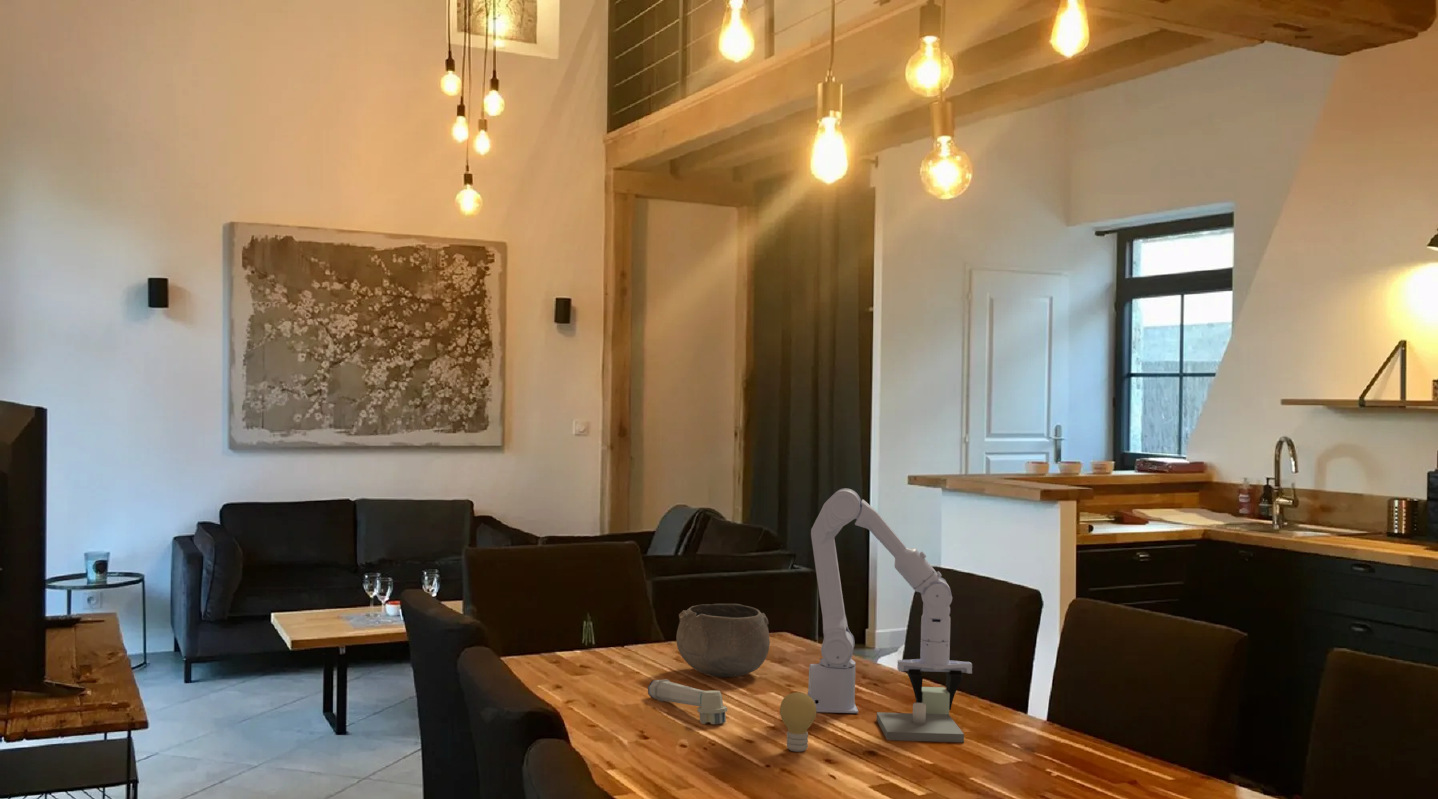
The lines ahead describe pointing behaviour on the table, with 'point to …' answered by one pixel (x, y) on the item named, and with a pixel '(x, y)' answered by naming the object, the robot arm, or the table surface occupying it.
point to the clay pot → (723, 639)
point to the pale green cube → (936, 700)
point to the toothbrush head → (691, 699)
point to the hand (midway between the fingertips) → (933, 708)
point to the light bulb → (797, 719)
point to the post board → (919, 726)
